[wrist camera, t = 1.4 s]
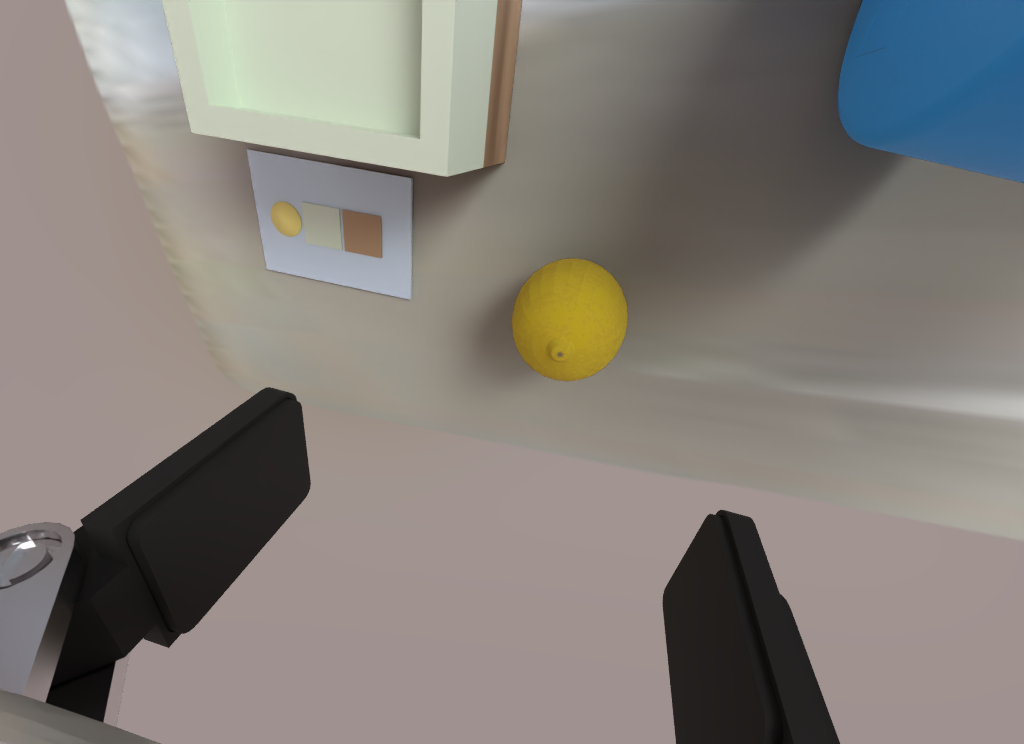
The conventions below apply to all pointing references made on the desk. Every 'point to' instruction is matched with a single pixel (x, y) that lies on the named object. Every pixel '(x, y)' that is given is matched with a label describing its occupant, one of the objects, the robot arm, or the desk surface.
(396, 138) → the top brick
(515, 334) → the lemon
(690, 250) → the desk surface
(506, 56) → the base brick
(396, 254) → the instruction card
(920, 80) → the alarm clock
